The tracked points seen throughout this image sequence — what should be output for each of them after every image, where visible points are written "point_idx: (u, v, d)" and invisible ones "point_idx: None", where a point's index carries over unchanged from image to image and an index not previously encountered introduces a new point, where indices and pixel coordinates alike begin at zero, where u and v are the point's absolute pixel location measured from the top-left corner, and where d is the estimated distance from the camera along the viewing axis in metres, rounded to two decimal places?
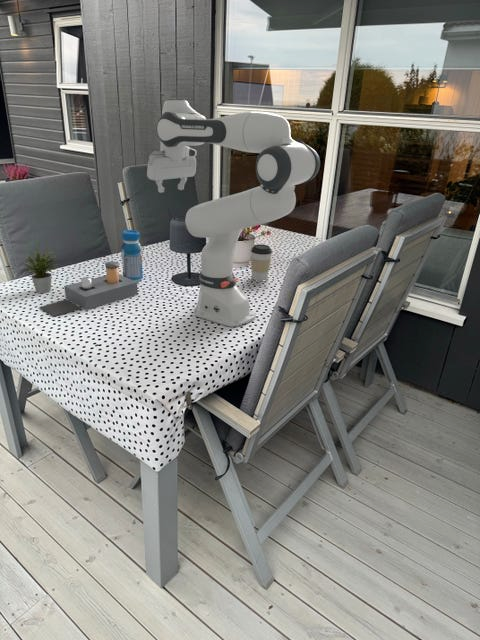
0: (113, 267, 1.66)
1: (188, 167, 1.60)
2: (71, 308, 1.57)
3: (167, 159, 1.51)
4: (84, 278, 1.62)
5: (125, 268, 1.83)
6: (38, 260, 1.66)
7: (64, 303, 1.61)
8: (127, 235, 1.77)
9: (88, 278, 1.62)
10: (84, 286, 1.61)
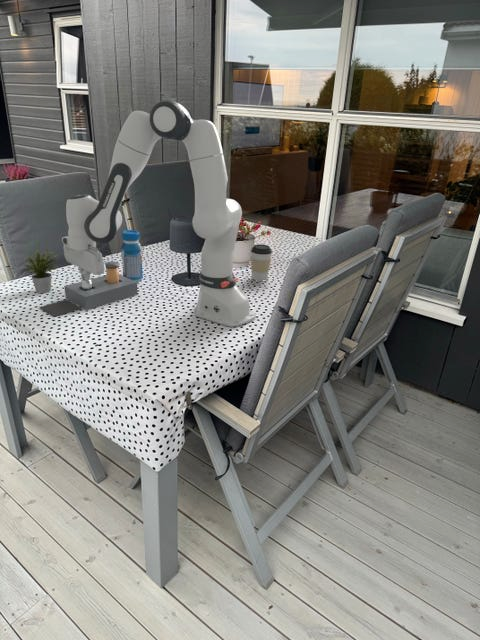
0: (113, 267, 1.66)
1: None
2: (71, 308, 1.57)
3: None
4: None
5: (125, 268, 1.83)
6: (38, 260, 1.66)
7: (64, 303, 1.61)
8: (127, 235, 1.77)
9: None
10: (85, 287, 1.61)
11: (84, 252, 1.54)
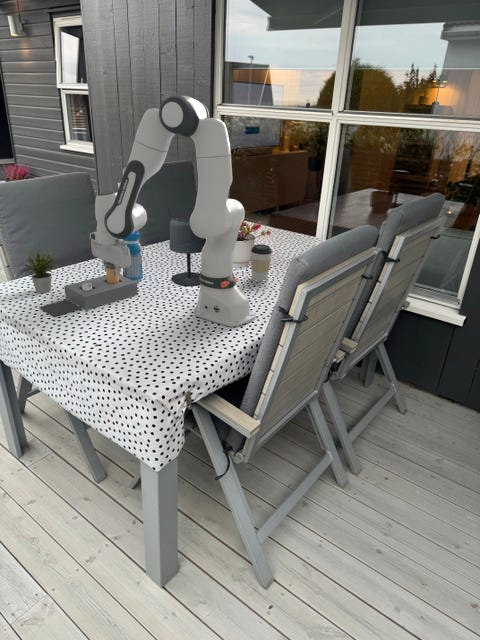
0: (113, 267, 1.66)
1: None
2: (71, 308, 1.57)
3: None
4: (85, 284, 1.63)
5: (125, 268, 1.83)
6: (38, 260, 1.66)
7: (64, 303, 1.61)
8: None
9: (89, 284, 1.63)
10: None
11: (112, 247, 1.61)
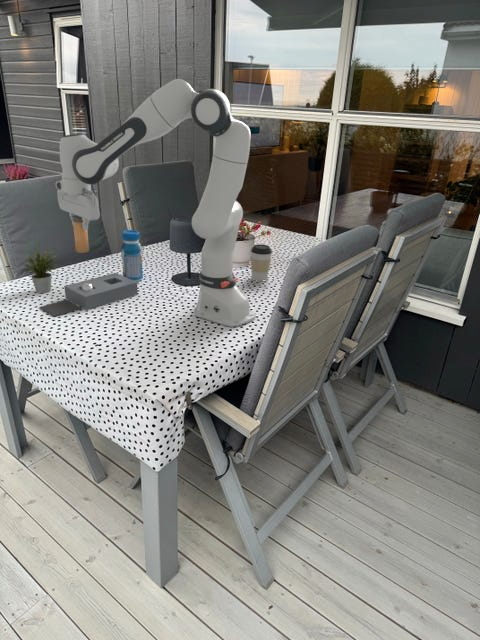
0: (81, 220, 1.51)
1: None
2: (71, 308, 1.57)
3: None
4: (85, 284, 1.63)
5: (125, 268, 1.83)
6: (38, 260, 1.66)
7: (64, 303, 1.61)
8: (127, 235, 1.77)
9: (89, 284, 1.63)
10: None
11: (78, 196, 1.46)
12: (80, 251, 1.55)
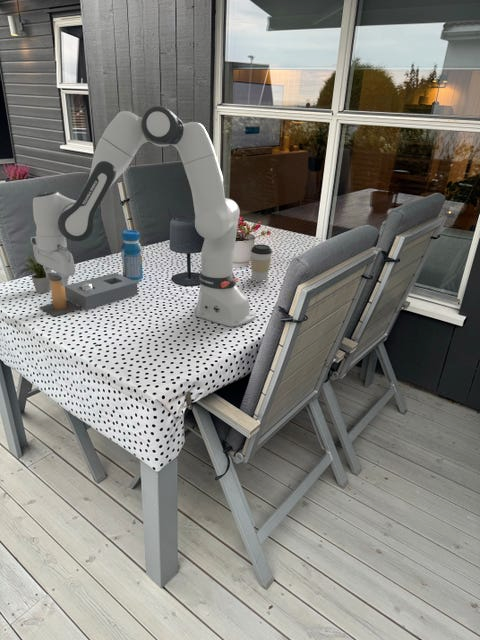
0: (57, 279, 1.51)
1: None
2: (71, 308, 1.57)
3: None
4: (85, 284, 1.63)
5: (125, 268, 1.83)
6: None
7: None
8: (127, 235, 1.77)
9: (89, 284, 1.63)
10: None
11: (53, 253, 1.45)
12: (58, 308, 1.55)
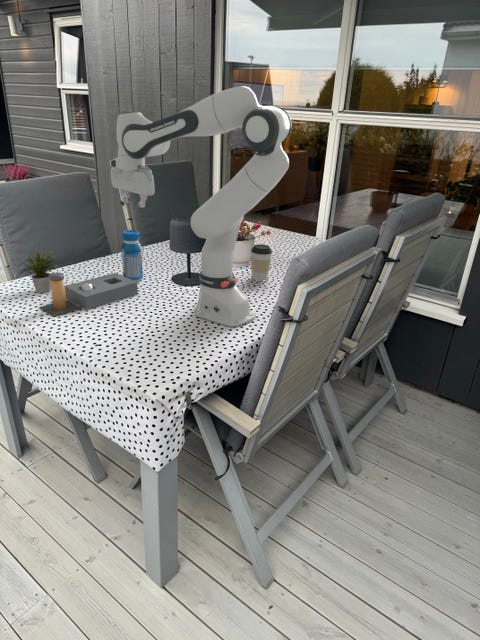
0: (57, 279, 1.51)
1: None
2: (71, 308, 1.57)
3: None
4: (85, 284, 1.63)
5: (125, 268, 1.83)
6: (38, 260, 1.66)
7: None
8: (127, 235, 1.77)
9: (89, 284, 1.63)
10: None
11: (134, 173, 1.50)
12: (58, 308, 1.55)
